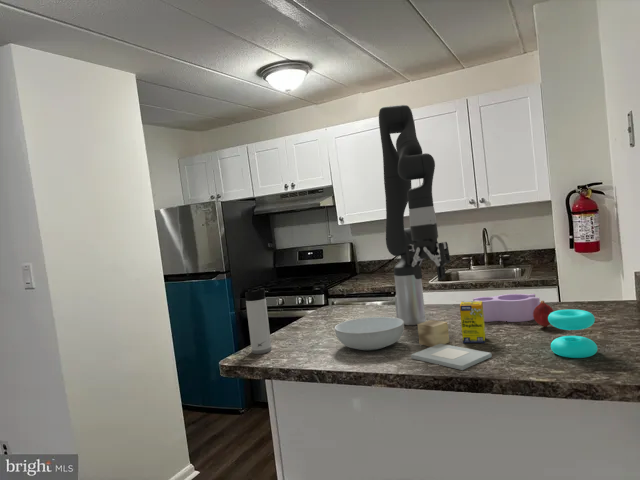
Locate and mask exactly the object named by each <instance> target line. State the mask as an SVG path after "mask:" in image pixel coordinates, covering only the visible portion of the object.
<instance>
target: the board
mask: <svg viewBox="0 0 640 480" xmlns="http://www.w3.org/2000/svg"><path fill="white" fill-rule="evenodd" d="M492 356H493V355H492V352H490V351H489V352H488V351H483V350H477V349H472V348H467V347H460V346H457V345H451V344H447V343H446V344H441V343H440V344H438V345H435V346H432V347H431V346H429V347H427V348H425V349H422V350H419V351H417V352H413V353H411V355H410V357H411V359H413V360H416V361H417V360H418V361H422V362H425V363H430V364H435V365H438V364H439V366H444V367H447V368H452V369H456V370H460V371H463V370H466V369H468V368H470V367H472V366H475V365H477V364H478V363H481V362H484V361H485V360H486V361H487V360H488V359H491V358H492Z"/></svg>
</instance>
